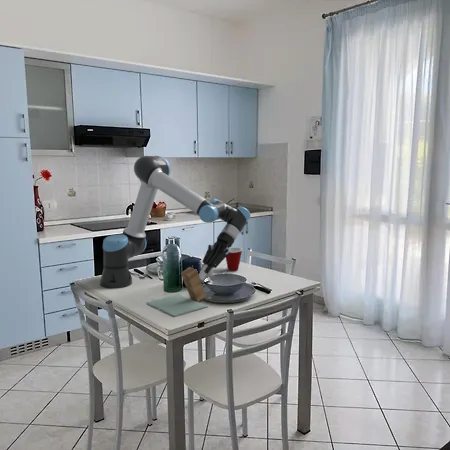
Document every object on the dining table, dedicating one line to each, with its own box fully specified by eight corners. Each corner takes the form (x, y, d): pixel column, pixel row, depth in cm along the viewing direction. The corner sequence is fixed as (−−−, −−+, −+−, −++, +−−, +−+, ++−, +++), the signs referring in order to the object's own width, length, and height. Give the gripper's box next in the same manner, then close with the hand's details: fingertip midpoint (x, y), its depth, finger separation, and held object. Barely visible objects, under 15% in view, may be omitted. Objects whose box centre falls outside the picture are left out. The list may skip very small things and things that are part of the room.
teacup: (202, 277, 221) (202, 262, 220) (218, 281, 214) (218, 265, 213) (183, 282, 210) (183, 267, 209) (199, 287, 203) (199, 271, 202)
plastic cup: (220, 267, 240) (220, 247, 239) (238, 266, 244) (238, 246, 242) (226, 272, 230) (226, 251, 228) (244, 271, 233) (245, 250, 232)
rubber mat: (146, 303, 179) (146, 302, 179) (178, 295, 190) (178, 294, 190) (174, 317, 165) (174, 315, 164) (207, 307, 176) (207, 305, 176)
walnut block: (190, 299, 186) (180, 273, 180) (198, 292, 189) (189, 266, 183) (198, 302, 182) (188, 275, 176) (206, 295, 185) (196, 269, 179)
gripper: (242, 243, 190) (214, 286, 181) (222, 239, 199) (194, 279, 190) (234, 233, 185) (205, 276, 176) (214, 229, 194) (185, 270, 186)
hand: (199, 278), depth 183 cm, fingers closed
